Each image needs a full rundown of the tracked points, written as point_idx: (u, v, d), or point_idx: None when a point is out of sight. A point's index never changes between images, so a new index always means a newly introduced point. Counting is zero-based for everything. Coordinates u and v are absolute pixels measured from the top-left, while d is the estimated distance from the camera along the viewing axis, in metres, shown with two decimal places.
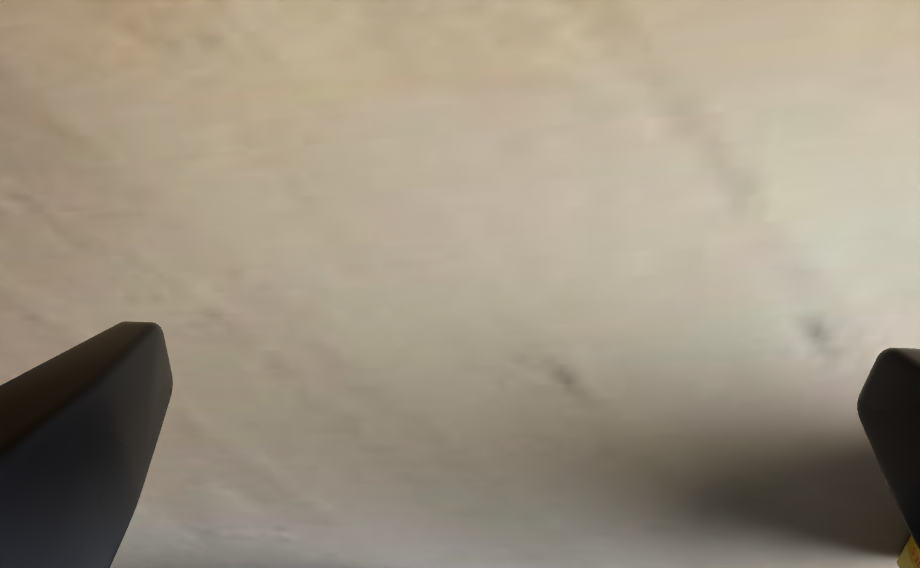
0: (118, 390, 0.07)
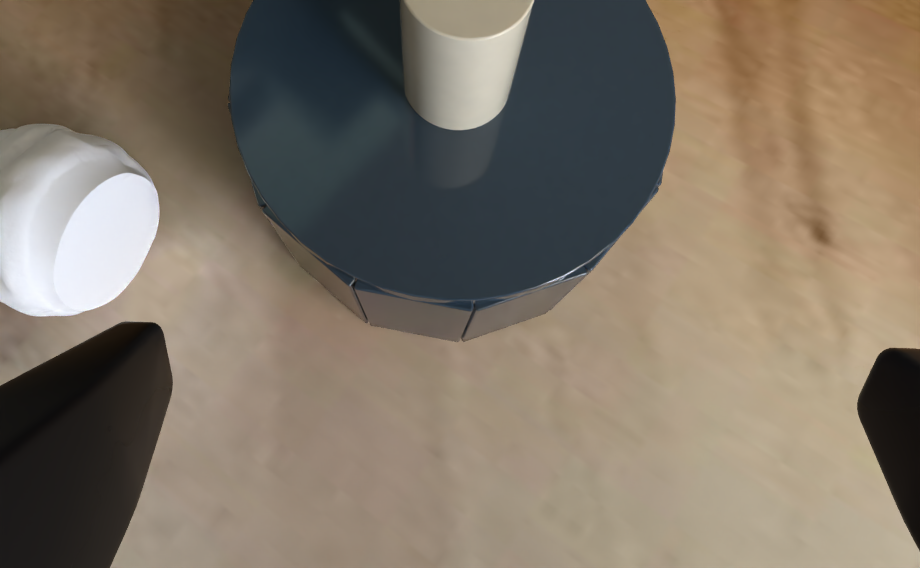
0: (118, 390, 0.07)
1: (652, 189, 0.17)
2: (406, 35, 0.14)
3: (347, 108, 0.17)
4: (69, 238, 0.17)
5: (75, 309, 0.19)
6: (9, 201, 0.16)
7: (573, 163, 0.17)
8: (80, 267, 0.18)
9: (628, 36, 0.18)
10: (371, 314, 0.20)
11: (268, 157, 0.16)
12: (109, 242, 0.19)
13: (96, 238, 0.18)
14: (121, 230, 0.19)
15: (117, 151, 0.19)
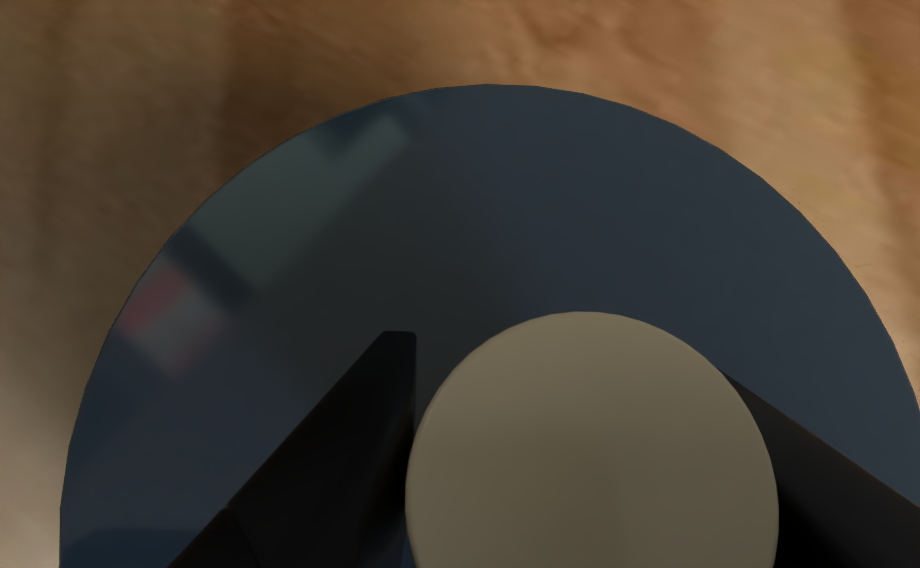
0: (413, 399, 0.07)
1: None
2: None
3: None
4: None
5: None
6: None
7: None
8: None
9: (840, 371, 0.09)
10: None
11: None
12: None
13: None
14: None
15: None
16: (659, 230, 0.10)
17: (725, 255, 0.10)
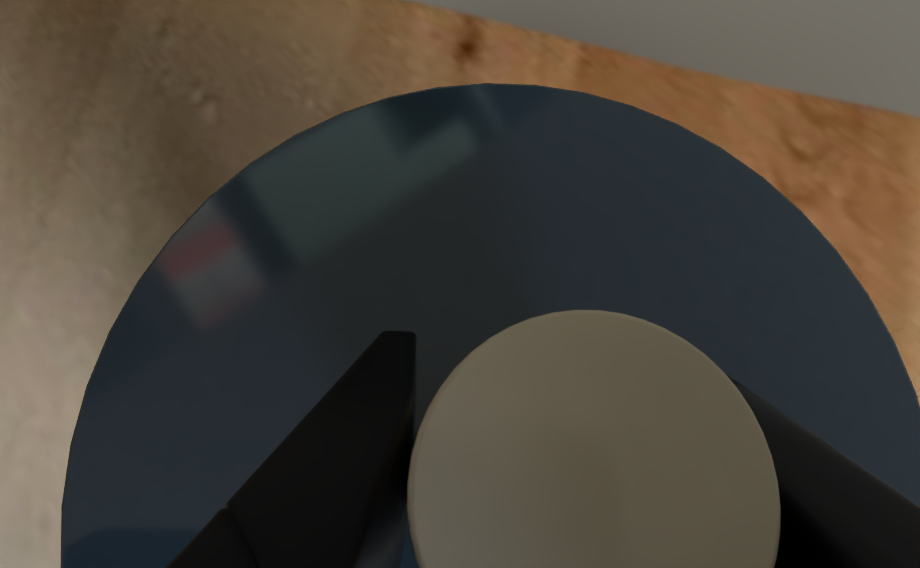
0: (412, 398, 0.07)
1: None
2: None
3: None
4: None
5: None
6: None
7: None
8: None
9: (841, 371, 0.09)
10: None
11: None
12: None
13: None
14: None
15: None
16: (660, 229, 0.10)
17: (726, 254, 0.10)
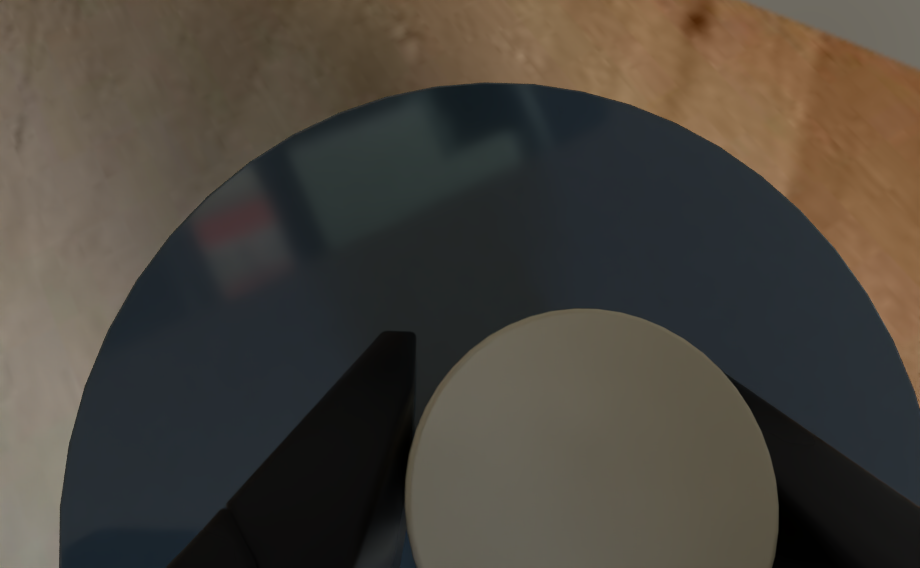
0: (412, 399, 0.07)
1: None
2: None
3: None
4: None
5: None
6: None
7: None
8: None
9: (840, 370, 0.09)
10: None
11: None
12: None
13: None
14: None
15: None
16: (659, 228, 0.10)
17: (725, 253, 0.10)
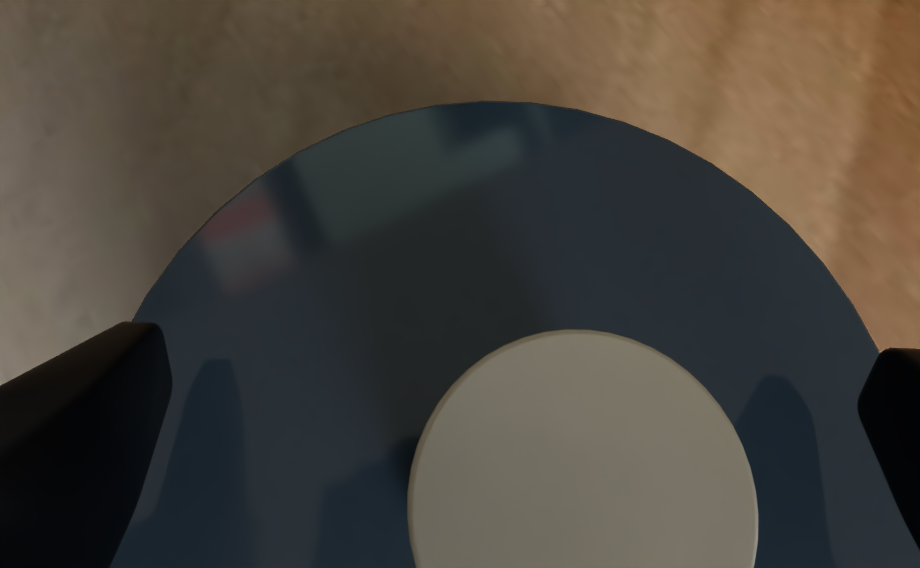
0: (118, 390, 0.07)
1: None
2: None
3: (302, 548, 0.09)
4: None
5: None
6: None
7: None
8: None
9: (828, 380, 0.10)
10: None
11: None
12: None
13: None
14: None
15: None
16: (652, 243, 0.10)
17: (716, 267, 0.10)
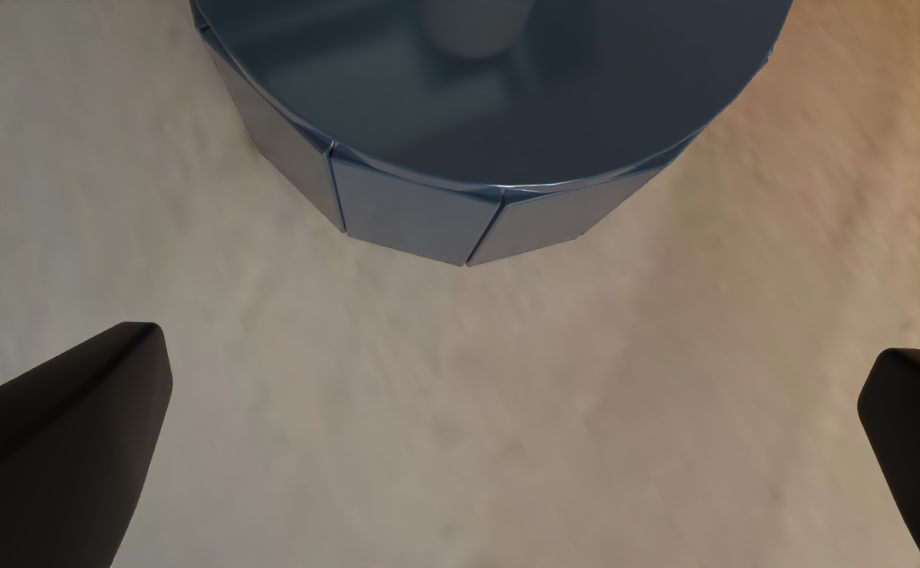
0: (118, 390, 0.07)
1: (766, 54, 0.12)
2: None
3: None
4: None
5: None
6: None
7: (658, 6, 0.12)
8: None
9: None
10: (351, 215, 0.14)
11: None
12: None
13: None
14: None
15: None
16: None
17: None
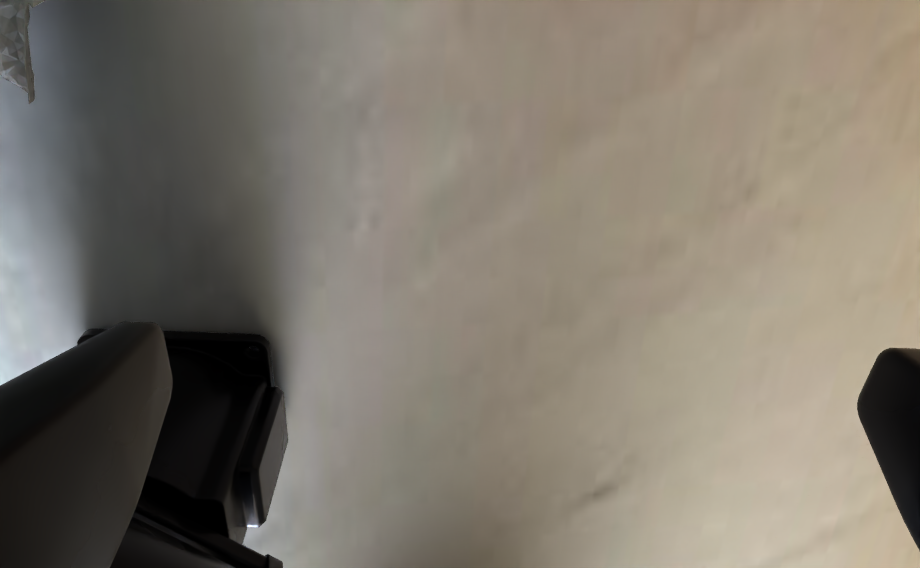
0: (118, 390, 0.07)
1: None
2: None
3: None
4: None
5: None
6: None
7: None
8: None
9: None
10: None
11: None
12: None
13: None
14: None
15: None
16: None
17: None
